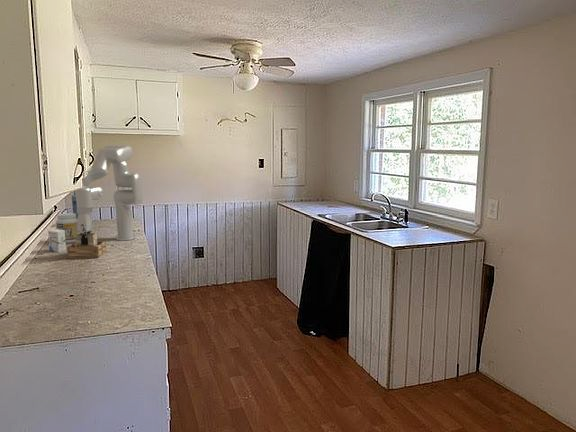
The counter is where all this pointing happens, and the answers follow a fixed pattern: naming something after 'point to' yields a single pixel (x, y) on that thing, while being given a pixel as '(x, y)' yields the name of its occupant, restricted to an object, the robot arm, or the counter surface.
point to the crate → (86, 251)
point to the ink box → (57, 240)
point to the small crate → (91, 239)
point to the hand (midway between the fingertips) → (86, 243)
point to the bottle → (74, 204)
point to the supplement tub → (68, 226)
